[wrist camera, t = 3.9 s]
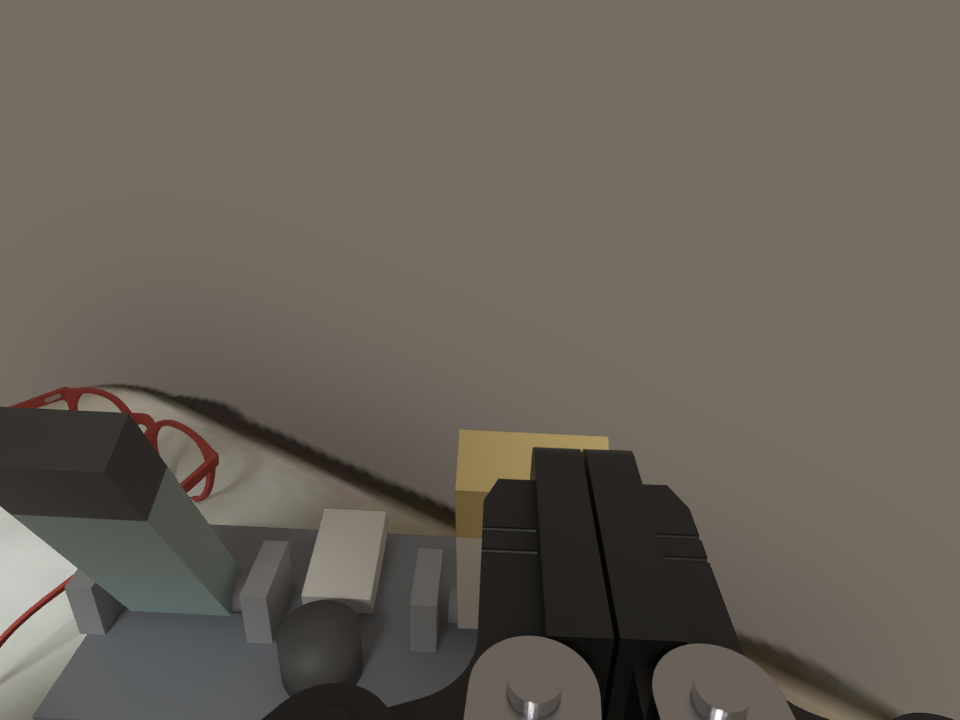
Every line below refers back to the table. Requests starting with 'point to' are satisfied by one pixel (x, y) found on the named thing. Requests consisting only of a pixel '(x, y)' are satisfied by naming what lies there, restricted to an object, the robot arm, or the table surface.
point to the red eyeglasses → (151, 434)
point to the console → (275, 629)
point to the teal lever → (114, 510)
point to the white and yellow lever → (475, 477)
